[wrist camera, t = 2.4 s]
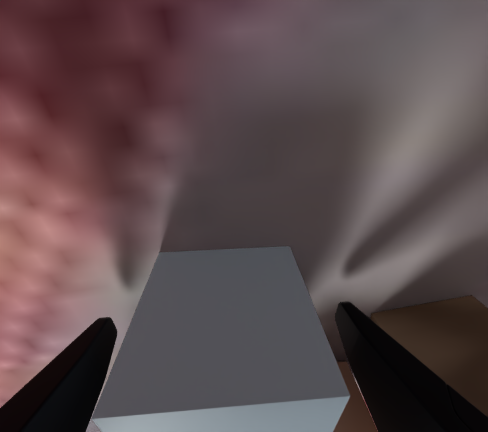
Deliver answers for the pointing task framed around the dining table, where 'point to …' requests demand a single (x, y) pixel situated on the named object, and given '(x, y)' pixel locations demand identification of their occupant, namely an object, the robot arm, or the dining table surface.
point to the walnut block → (446, 342)
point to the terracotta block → (353, 407)
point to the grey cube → (224, 350)
